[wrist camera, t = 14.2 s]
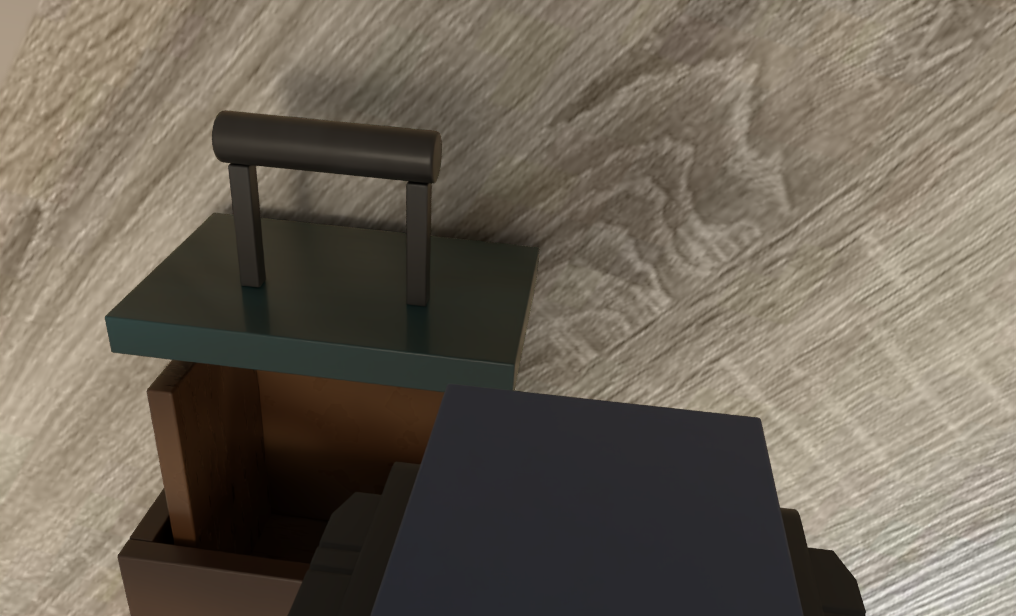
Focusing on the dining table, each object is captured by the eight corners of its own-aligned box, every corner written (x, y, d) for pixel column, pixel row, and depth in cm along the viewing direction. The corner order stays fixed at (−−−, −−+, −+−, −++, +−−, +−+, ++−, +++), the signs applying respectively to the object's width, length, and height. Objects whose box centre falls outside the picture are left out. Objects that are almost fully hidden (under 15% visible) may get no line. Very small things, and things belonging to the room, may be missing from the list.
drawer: (195, 61, 28) (66, 133, 21) (552, 94, 27) (528, 180, 20) (248, 504, 37) (169, 646, 31) (514, 539, 36) (490, 693, 30)
